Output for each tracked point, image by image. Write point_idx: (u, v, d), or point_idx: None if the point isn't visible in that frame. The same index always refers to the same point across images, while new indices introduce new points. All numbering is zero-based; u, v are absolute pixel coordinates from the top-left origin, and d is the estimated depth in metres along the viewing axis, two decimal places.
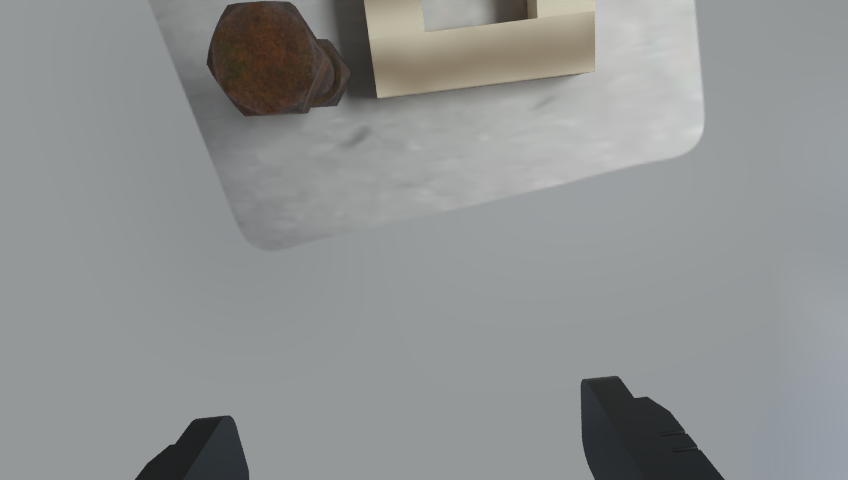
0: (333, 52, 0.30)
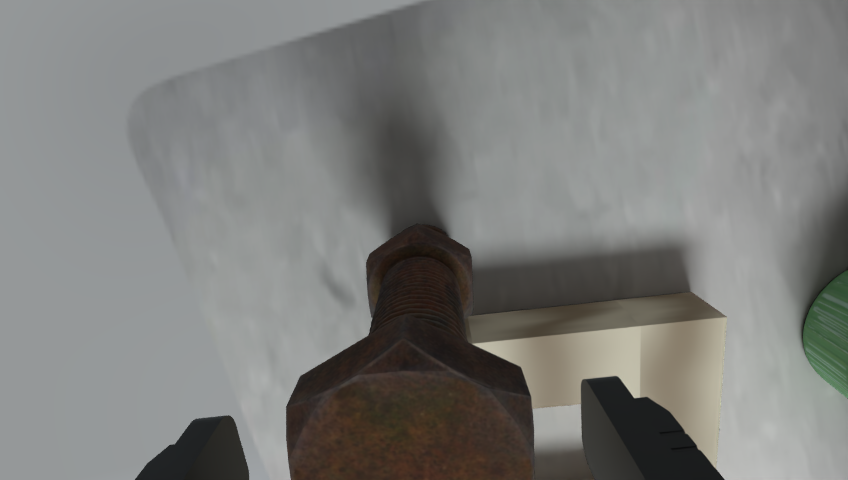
0: None
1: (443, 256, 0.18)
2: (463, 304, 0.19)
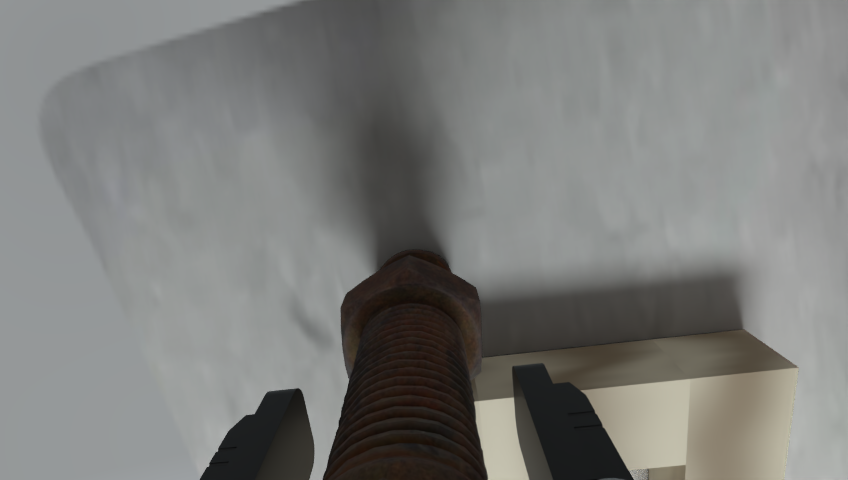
0: None
1: (443, 301, 0.13)
2: (469, 363, 0.14)
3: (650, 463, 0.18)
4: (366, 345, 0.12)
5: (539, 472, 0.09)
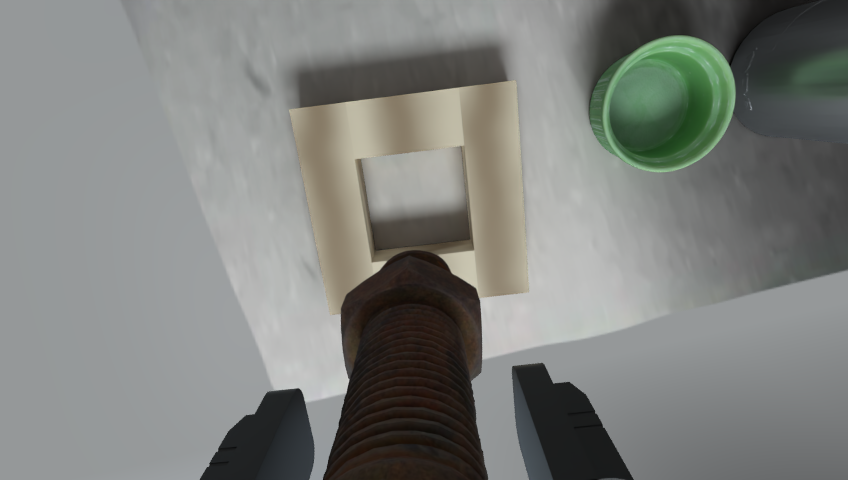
0: None
1: (443, 302, 0.13)
2: (469, 363, 0.14)
3: (444, 144, 0.33)
4: (366, 345, 0.12)
5: (539, 472, 0.09)
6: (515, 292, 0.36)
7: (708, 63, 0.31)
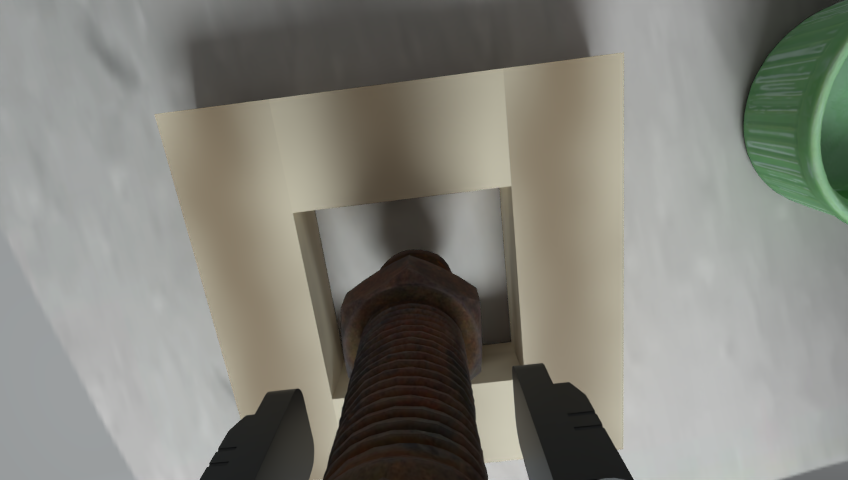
0: None
1: (443, 301, 0.13)
2: (469, 363, 0.14)
3: (471, 184, 0.16)
4: (366, 345, 0.12)
5: (539, 472, 0.09)
6: None
7: None
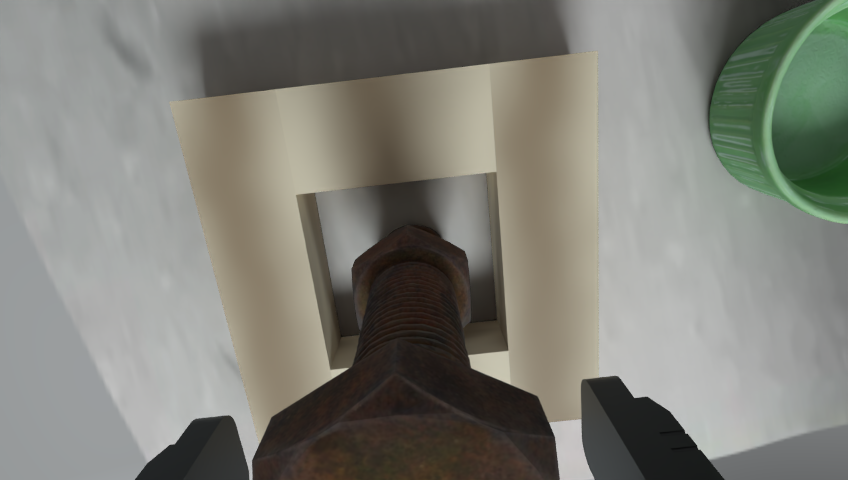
0: None
1: (437, 260, 0.16)
2: (460, 312, 0.17)
3: (460, 169, 0.18)
4: (375, 293, 0.15)
5: None
6: (575, 417, 0.21)
7: None
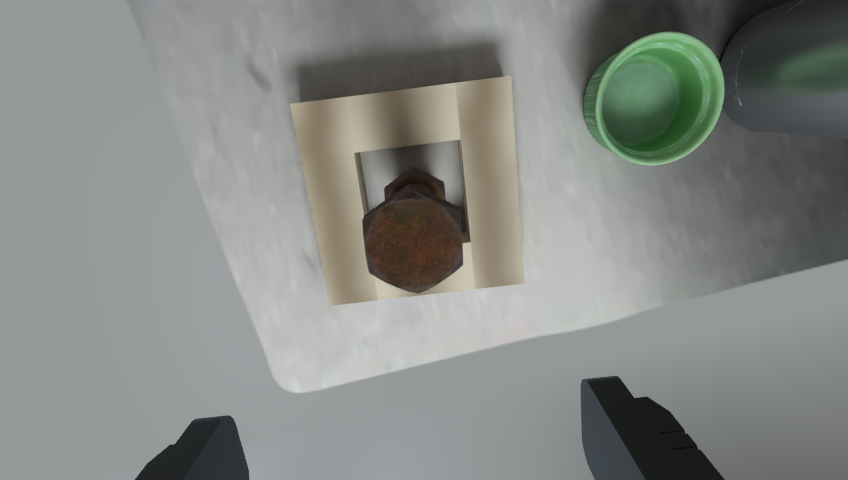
0: None
1: (428, 183, 0.32)
2: None
3: (441, 138, 0.33)
4: None
5: None
6: (510, 283, 0.37)
7: (698, 59, 0.31)
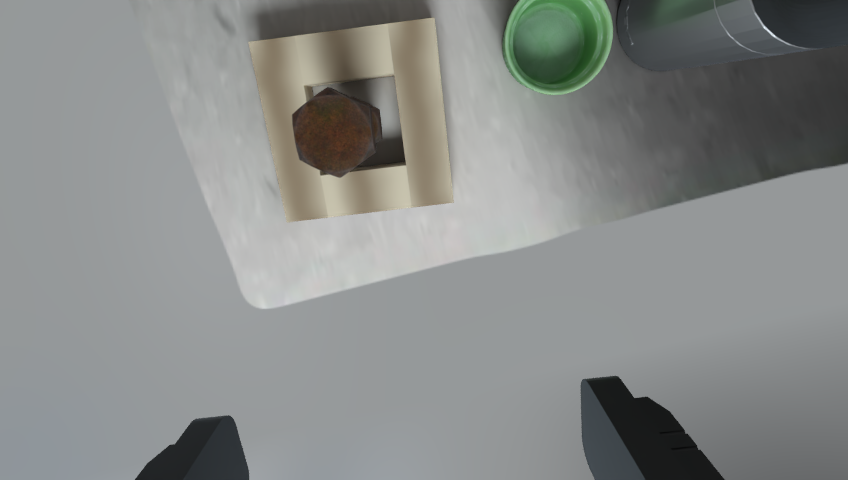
0: None
1: None
2: (375, 133, 0.38)
3: (377, 72, 0.39)
4: None
5: None
6: (442, 202, 0.43)
7: (590, 2, 0.37)
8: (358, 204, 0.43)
